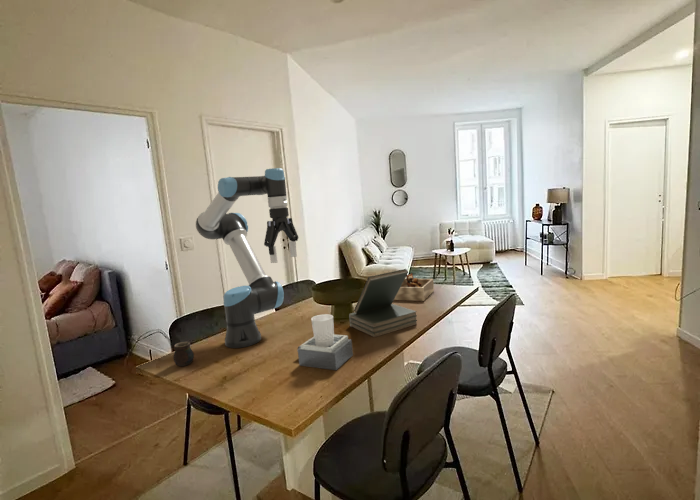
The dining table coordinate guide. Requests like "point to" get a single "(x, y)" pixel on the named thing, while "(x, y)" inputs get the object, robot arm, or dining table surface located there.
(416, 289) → the bear crate
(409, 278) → the bear figurine
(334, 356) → the grey open box
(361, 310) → the book stack
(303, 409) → the dining table surface
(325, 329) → the white cup
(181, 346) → the mate gourd
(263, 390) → the dining table surface
